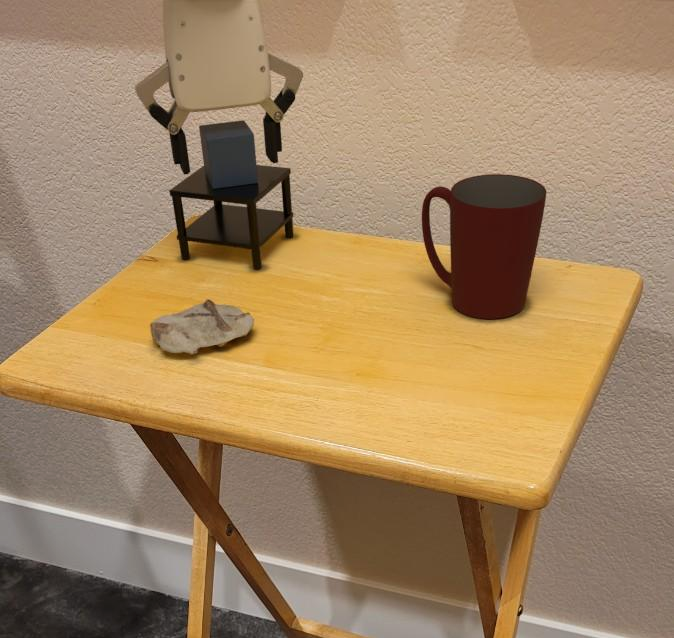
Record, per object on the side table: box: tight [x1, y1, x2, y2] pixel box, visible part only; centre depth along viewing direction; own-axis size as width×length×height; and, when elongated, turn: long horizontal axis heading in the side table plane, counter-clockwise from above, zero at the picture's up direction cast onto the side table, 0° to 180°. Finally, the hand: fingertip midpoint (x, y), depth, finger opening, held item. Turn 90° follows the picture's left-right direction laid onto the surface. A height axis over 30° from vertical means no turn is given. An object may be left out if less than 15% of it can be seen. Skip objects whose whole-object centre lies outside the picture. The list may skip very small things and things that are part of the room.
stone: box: [149, 298, 255, 355], centre depth 85 cm, size 10×7×3 cm
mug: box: [421, 173, 547, 320], centre depth 87 cm, size 12×9×11 cm
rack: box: [169, 164, 295, 271], centre depth 99 cm, size 10×10×8 cm
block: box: [198, 120, 258, 189], centre depth 95 cm, size 5×5×5 cm
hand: (229, 164), depth 96 cm, fingers open, 9 cm apart
